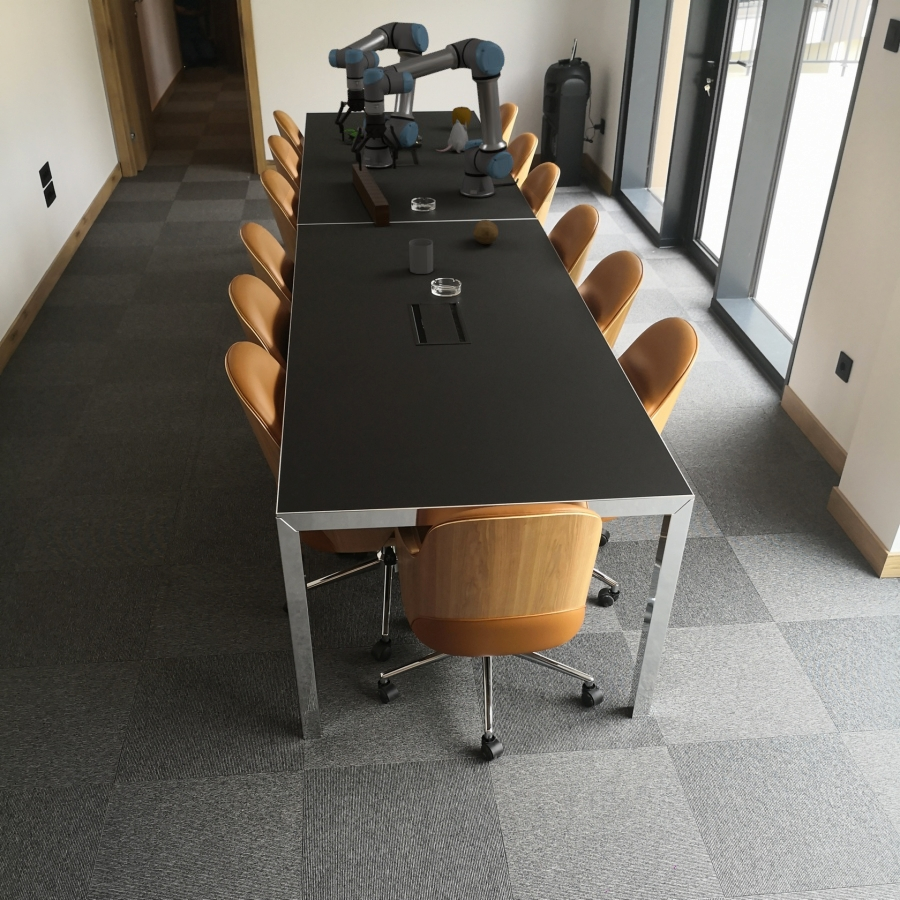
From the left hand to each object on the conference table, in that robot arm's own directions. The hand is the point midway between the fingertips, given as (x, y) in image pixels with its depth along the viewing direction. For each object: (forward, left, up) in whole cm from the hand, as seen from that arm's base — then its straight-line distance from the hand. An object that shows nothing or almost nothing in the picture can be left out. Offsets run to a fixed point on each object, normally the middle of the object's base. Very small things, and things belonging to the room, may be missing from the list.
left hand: (358, 140), depth 385 cm
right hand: (+33, +37, 0) cm, 50 cm away
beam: (+17, +19, -21) cm, 32 cm away
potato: (+32, +87, -21) cm, 95 cm away
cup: (+69, +84, -21) cm, 110 cm away
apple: (-120, -25, -21) cm, 124 cm away
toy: (-74, -1, -21) cm, 77 cm away
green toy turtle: (-68, -52, -21) cm, 88 cm away
